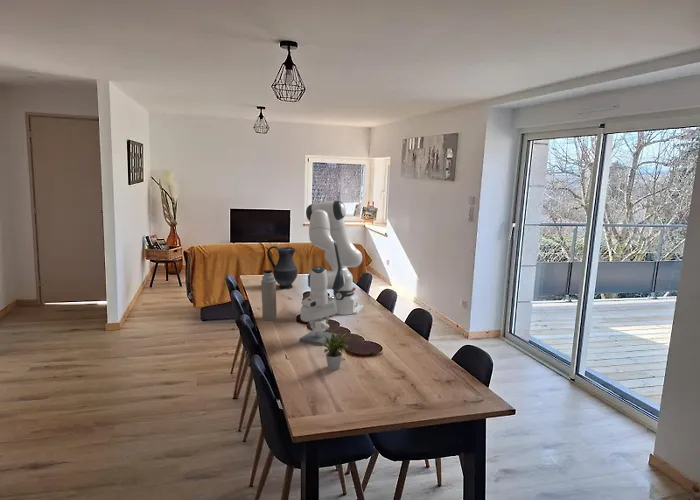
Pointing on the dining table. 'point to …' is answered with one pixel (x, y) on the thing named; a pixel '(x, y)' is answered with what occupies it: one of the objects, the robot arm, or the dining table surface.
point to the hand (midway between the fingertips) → (319, 326)
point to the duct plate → (316, 337)
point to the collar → (320, 325)
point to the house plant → (334, 351)
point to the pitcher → (284, 267)
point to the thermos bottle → (268, 296)
